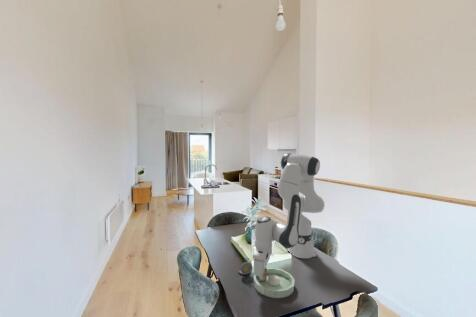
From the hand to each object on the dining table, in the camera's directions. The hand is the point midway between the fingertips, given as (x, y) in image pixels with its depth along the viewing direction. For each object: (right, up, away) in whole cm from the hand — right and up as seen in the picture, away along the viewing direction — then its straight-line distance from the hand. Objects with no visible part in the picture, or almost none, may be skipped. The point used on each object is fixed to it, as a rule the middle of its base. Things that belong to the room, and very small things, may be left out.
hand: (262, 275), depth 118 cm
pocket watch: (-9, -3, +9) cm, 13 cm away
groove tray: (+6, -4, -2) cm, 7 cm away
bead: (0, -2, 0) cm, 2 cm away
